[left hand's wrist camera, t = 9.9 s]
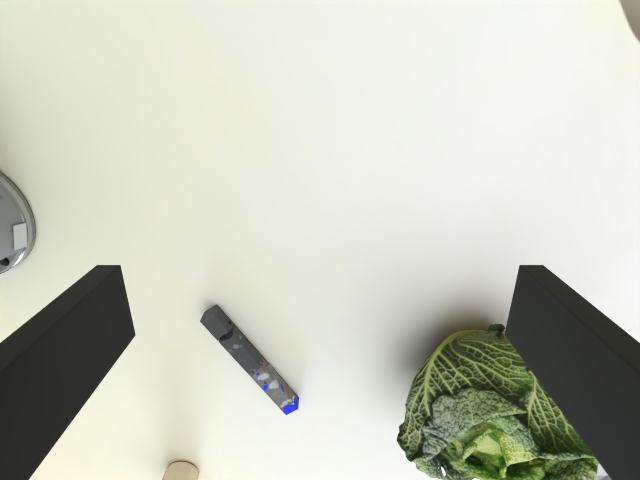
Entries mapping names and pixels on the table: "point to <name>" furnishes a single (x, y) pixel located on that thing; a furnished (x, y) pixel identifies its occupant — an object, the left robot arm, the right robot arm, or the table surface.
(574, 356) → the left robot arm
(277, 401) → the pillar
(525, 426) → the vegetable
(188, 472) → the candle
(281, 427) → the table surface
